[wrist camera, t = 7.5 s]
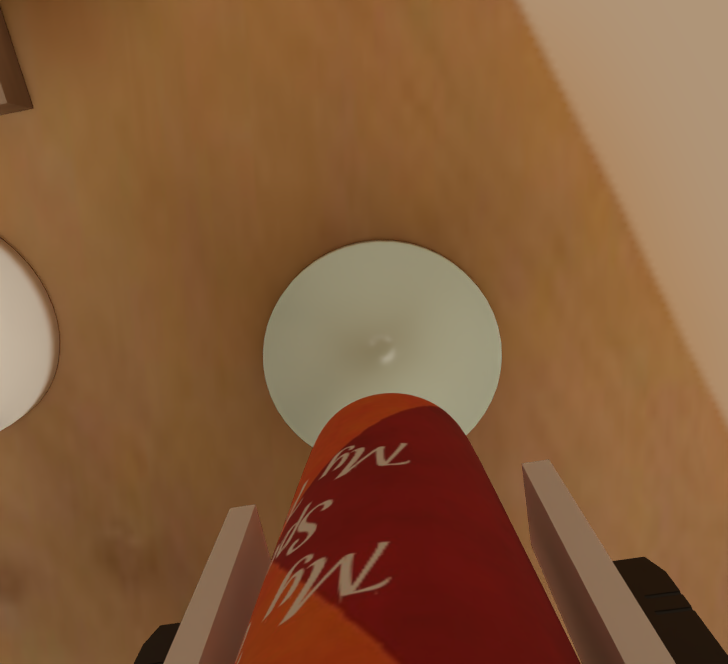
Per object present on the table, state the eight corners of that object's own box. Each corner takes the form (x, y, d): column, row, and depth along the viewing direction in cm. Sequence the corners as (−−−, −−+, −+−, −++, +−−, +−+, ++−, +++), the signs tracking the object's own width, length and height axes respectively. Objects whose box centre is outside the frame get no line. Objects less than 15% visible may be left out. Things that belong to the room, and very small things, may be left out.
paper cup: (318, 330, 17) (115, 888, 4) (540, 403, 18) (1057, 1115, 4) (253, 527, 19) (-24, 1337, 6) (453, 587, 20) (618, 1450, 6)
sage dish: (294, 473, 33) (291, 484, 31) (242, 263, 29) (237, 266, 28) (508, 439, 32) (513, 449, 31) (481, 219, 28) (486, 221, 27)
